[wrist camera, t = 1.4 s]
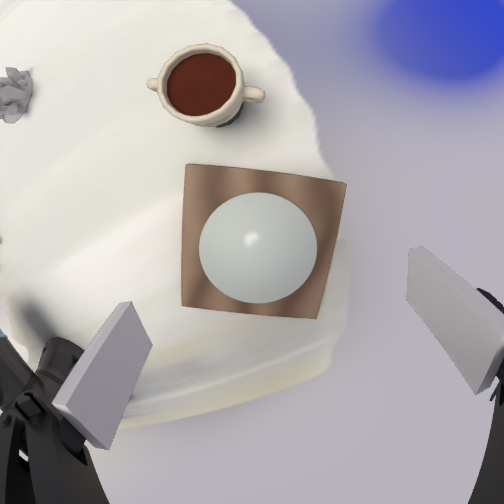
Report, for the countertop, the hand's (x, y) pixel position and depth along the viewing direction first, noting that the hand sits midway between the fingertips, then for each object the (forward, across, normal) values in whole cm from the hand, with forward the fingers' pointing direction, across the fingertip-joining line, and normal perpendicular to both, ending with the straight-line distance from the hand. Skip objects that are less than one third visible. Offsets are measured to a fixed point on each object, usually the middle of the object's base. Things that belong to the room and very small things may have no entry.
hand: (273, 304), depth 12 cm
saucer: (+23, -2, -6) cm, 24 cm away
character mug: (+25, -3, +13) cm, 28 cm away
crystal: (+25, -37, +30) cm, 54 cm away
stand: (+25, -2, -6) cm, 26 cm away
